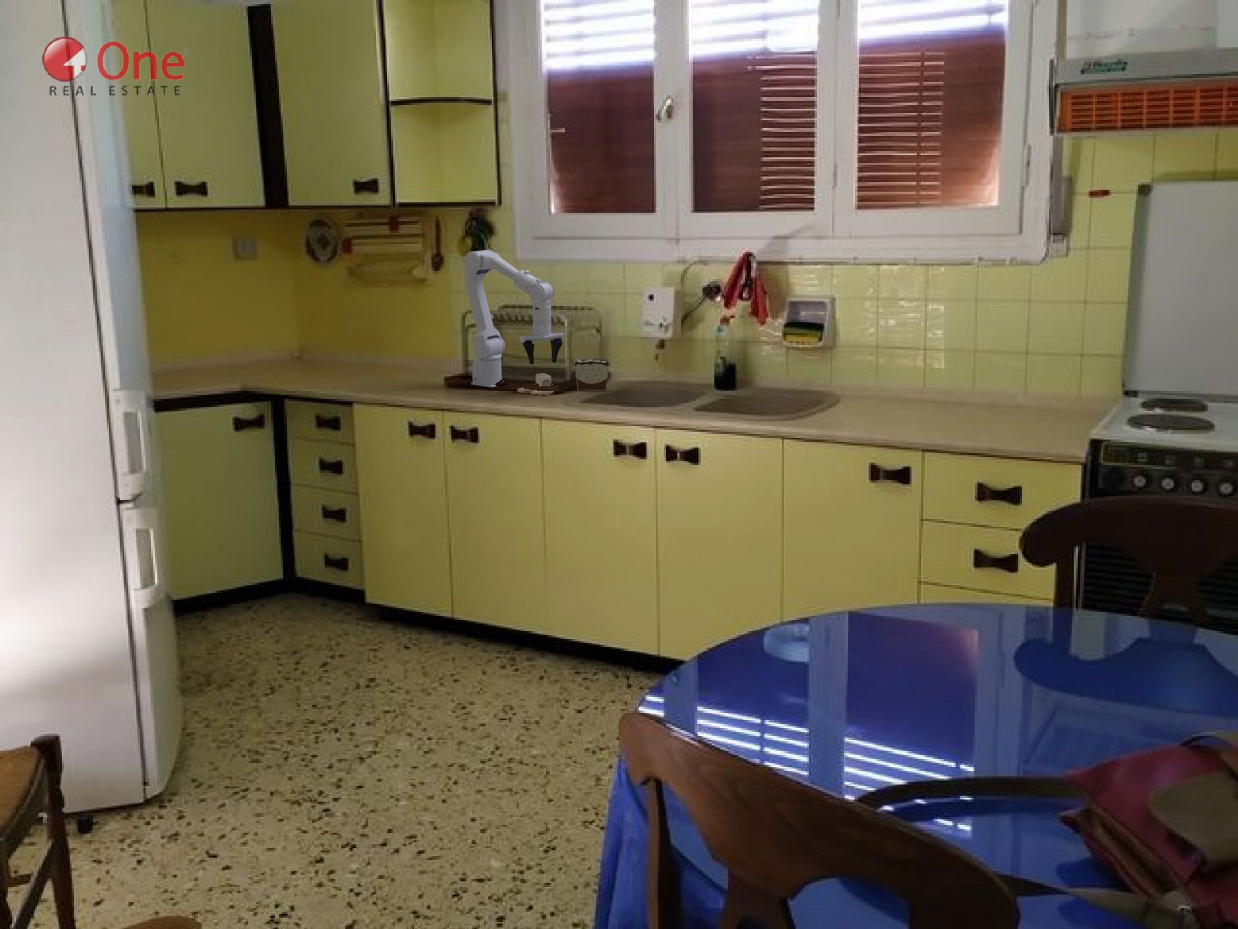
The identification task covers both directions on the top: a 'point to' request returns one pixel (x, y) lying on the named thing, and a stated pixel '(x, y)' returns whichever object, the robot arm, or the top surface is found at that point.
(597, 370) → the food container
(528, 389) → the trivet
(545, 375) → the plug
